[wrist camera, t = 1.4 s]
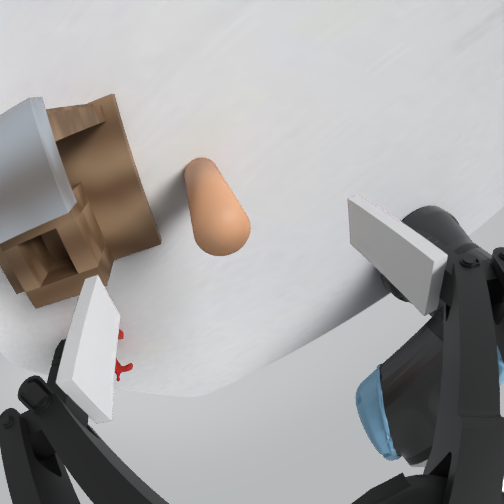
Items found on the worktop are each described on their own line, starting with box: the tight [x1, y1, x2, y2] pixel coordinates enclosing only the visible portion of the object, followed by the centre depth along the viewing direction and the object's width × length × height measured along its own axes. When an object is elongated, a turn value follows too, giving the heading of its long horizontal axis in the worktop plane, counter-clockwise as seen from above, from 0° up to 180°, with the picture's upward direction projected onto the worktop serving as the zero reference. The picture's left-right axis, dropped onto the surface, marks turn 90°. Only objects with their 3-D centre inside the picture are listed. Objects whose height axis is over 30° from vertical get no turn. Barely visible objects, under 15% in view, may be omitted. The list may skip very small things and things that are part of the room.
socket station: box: [0, 94, 161, 308], centre depth 20 cm, size 16×20×18 cm
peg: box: [184, 158, 250, 256], centre depth 25 cm, size 3×3×14 cm
